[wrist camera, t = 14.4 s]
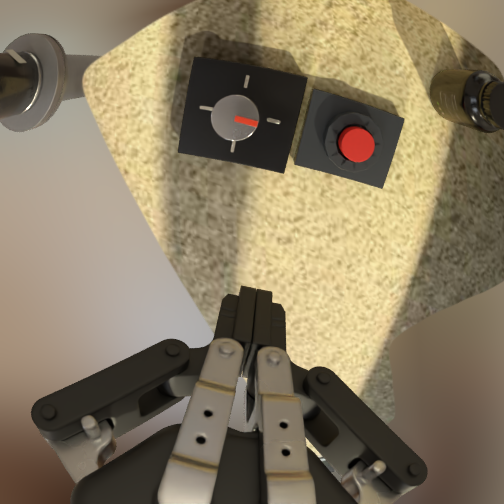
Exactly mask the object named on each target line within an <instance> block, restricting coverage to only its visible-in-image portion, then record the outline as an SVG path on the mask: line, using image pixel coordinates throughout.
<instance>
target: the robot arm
mask: <svg viewBox="0 0 504 504" xmlns="http://www.w3.org/2000/svg"><path fill="white" fill-rule="evenodd" d="M6 51H7V52H8V53H0V119H3V118H7V117H10V116H14V115H20V114H23V113H25V112H27V111H29V110H30V109H31V108H32V107H33V106H34V104H35V103H36V101H37V100H38V98H39V95H40V93H41V89H42V85H43V68H42V64H41V62H40V60H39V58H38V57H37V56H36V55H35V54H34V53H32V52H29V51H22V52H15V51H14V50H13V49H11V50H6ZM285 320H286V318H285V311H284V309H283V307H282V305H281V304H277V303H272V292H271V291H266V290H261V289H257V290H256V288H251V287H246V286H241V288H240V292H239V296H237V295H232V294H227V295H226V296H225V297H224V298H223V299H222V303H221V308H220V312H219V316H218V321H217V325H216V330H215V334H214V338H213V340H212V342H211V343H210V344H209V345H207V346H205V347H201V348H189V347H188V346H187V345H186V344H185V343H184V342H182V341H180V340H177V339H166V340H163V341H161V342H159V343H157V344H155V345H153V346H151V347H149V348H147V349H145V350H143V351H141V352H139V353H137V354H135V355H133V356H131V357H129V358H126V359H124V360H122V361H120V362H118V363H116V364H114V365H112V366H110V367H108V368H106V369H104V370H101V371H99V372H97V373H95V374H93V375H91V376H89V377H87V378H85V379H83V380H80V381H78V382H76V383H74V384H72V385H69V386H67V387H65V388H63V389H61V390H59V391H56V392H54V393H52V394H50V395H47V396H45V397H43V398H41V399H39V400H38V401H36V403H35V404H34V405H33V407H32V411H31V416H32V420H33V421H34V423H35V424H36V426H37V428H38V429H39V431H40V433H41V435H42V436H43V437H44V439H45V440H46V441H47V443H48V444H49V445H50V446H51V448H52V449H54V450H55V452H56V453H57V455H58V457H59V458H60V460H61V462H62V463H63V465H64V466H65V468H66V469H67V471H68V473H69V474H70V475H71V477H72V479H73V480H74V482H75V483H76V486H75V487H74V489H73V492H72V495H71V504H393V503H394V502H395V501H396V500H397V499H398V498H399V497H400V496H402V495H403V494H405V493H407V492H409V491H410V490H412V489H414V488H415V487H417V486H419V485H420V484H422V483H423V482H424V481H425V479H426V477H427V467H426V464H425V463H424V461H423V460H422V459H421V458H420V457H419V456H418V455H417V454H416V453H414V451H412V450H411V449H410V448H409V447H408V446H407V445H406V444H405V443H404V442H403V441H402V440H401V439H400V438H399V437H398V436H397V435H396V434H395V433H394V432H393V431H392V430H391V429H390V428H389V427H388V426H387V425H386V424H385V423H384V422H383V421H382V420H381V419H380V418H379V417H378V416H377V415H376V414H375V413H374V412H373V411H372V410H371V409H370V408H369V407H368V406H367V405H366V404H365V403H364V402H363V401H362V400H361V399H360V398H359V397H358V396H357V395H356V394H355V393H354V392H353V391H352V390H351V389H350V388H349V387H348V386H347V385H346V384H345V383H344V382H343V381H342V380H341V379H340V378H339V377H338V376H337V375H336V374H335V373H334V372H333V371H331V370H330V369H328V368H325V367H320V366H319V367H314V368H312V369H310V370H309V371H308V370H306V369H304V368H301V367H299V366H297V365H295V364H294V363H293V362H292V361H291V360H290V358H289V356H288V354H287V353H286V328H285V327H286V322H285ZM242 371H243V373H242ZM241 374H242V377H244V378H248V379H247V386H246V389H245V395H244V431H243V432H240V431H237V430H235V429H232V428H229V427H228V423H229V419H230V414H231V410H232V406H233V401H234V397H235V392H236V384H237V381H238V377H241ZM185 396H191V398H190V401H189V404H188V407H187V409H186V412H185V415H184V419H183V421H182V423H181V424H175V425H171V426H168V427H165V428H163V429H161V430H160V431H158V432H156V433H155V434H153V435H152V436H150V437H149V438H147V439H146V440H144V441H143V442H141V443H139V444H138V445H136V446H135V447H133V448H132V449H130V450H129V451H127V452H125V453H124V454H122V455H120V456H119V457H117V458H116V459H114V460H112V461H111V462H109V463H108V464H106V465H104V463H105V461H106V460H107V459H108V458H109V457H111V456H112V455H113V454H114V452H115V450H116V440H115V439H116V438H118V437H120V436H122V435H123V434H125V433H127V432H129V431H130V430H132V429H134V428H136V427H137V426H139V425H141V424H143V423H144V422H146V421H148V420H149V419H151V418H153V417H155V416H156V415H158V414H160V413H161V412H163V411H164V410H166V409H168V408H169V407H171V406H173V405H174V404H176V403H178V402H179V401H181V400H182V399H183V398H184V397H185ZM305 437H306V438H307V439H308V440H309V442H310V443H311V444H312V445H313V446H314V447H315V448H316V449H317V451H318V452H319V453H320V454H321V455H322V456H323V457H324V458H325V459H326V461H327V462H328V463H329V464H330V465H331V466H332V467H333V468H334V469H335V470H336V471H337V472H338V474H339V475H340V476H341V477H342V478H341V483H340V482H339V481H338V480H337V479H336V478H335V477H334V476H333V474H332V473H331V472H330V471H329V470H328V468H327V467H326V466H325V465H324V464H323V463H322V461H321V460H320V459H319V458H318V457H317V455H316V454H315V453H314V452H313V451H312V450H311V449H309V448H308V447H307V446H306V439H305Z"/></svg>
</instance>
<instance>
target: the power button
mask: <svg viewBox="0 0 504 504" xmlns="http://www.w3.org/2000/svg"><path fill="white" fill-rule="evenodd" d="M338 144H339V148H340V150H341V152H342V153H343V154H344V155H345V156H346V157H347V158H348V159H349V160H351V161H354V162H362V161H365V160H367V159H368V158H369V157H370V156H371V155H372V153H373V151H374V147H375V144H374V139H373V137H372V136H371V134H370V133H369V132H367V131H366V130H364V129H362V128H360V127H356V126H352V127H348V128H346V129H345V130H344V131H343V132H342V133H341V134H340V136H339V140H338Z"/></svg>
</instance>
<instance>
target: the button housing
mask: <svg viewBox="0 0 504 504" xmlns="http://www.w3.org/2000/svg"><path fill="white" fill-rule="evenodd" d="M403 123H404V118H401V117H399V116H396V115H394V114H391V113H388V112H386V111H383V110H380V109H377V108H374V107H372V106H369V105H366V104H363V103H360V102H357V101H354V100H351V99H348V98H344V97H341V96H338V95H334V94H331V93H328V92H324V91H321V90H317V89H312V91H311V95H310V99H309V103H308V107H307V111H306V115H305V119H304V123H303V127H302V131H301V135H300V138H299V142H298V146H297V150H296V154H295V158H294V164H295V165H298V166H302V167H306V168H310V169H314V170H318V171H322V172H325V173H329V174H333V175H337V176H340V177H344V178H347V179H351V180H354V181H358V182H361V183H365V184H368V185H371V186H375V187H378V188H381V189H382V188H383V186H384V183H385V180H386V177H387V174H388V171H389V168H390V165H391V162H392V159H393V156H394V152H395V149H396V146H397V143H398V140H399V136H400V133H401V130H402V126H403ZM352 126H356V127H360V128H362V129H364V130H366V131H367V132H369V133H370V134H371V136H372V137H373V139H374V144H375V147H374V151H373V153H372V155H371V156H370V157H369V158H368V159H367V160H365V161H362V162H354V161H351V160H349V159H348V158H347V157H346V156H345V155H344V154H343V153H342V152H341V150H340V148H339V144H338V140H339V136H340V134H341V133H342V132H343V131H344V130H345V129H346V128H348V127H352Z"/></svg>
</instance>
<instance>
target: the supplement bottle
mask: <svg viewBox="0 0 504 504" xmlns="http://www.w3.org/2000/svg"><path fill="white" fill-rule="evenodd" d="M430 98H431V102H432V104H433V106H434V108H435V110H436V111H437V112H438V114H439V115H440V116H442V117H443V118H445V119H446V120H449V121H451V122H454V123H457V124H460V125H463V126H466V127H469V128H472V129H475V130H478V131H481V132H484V133H493V132H496V131H498V130H499V129H503V130H504V82H501V81H500V80H499V79H498V78H497V77H496V76H495V75H493V74H492V73H490V72H487V71H482V70H459V69H450V70H443V71H441V72H439V73H438V74H437V75H436V76H435V77H434V78H433V80H432V82H431V86H430Z"/></svg>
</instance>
